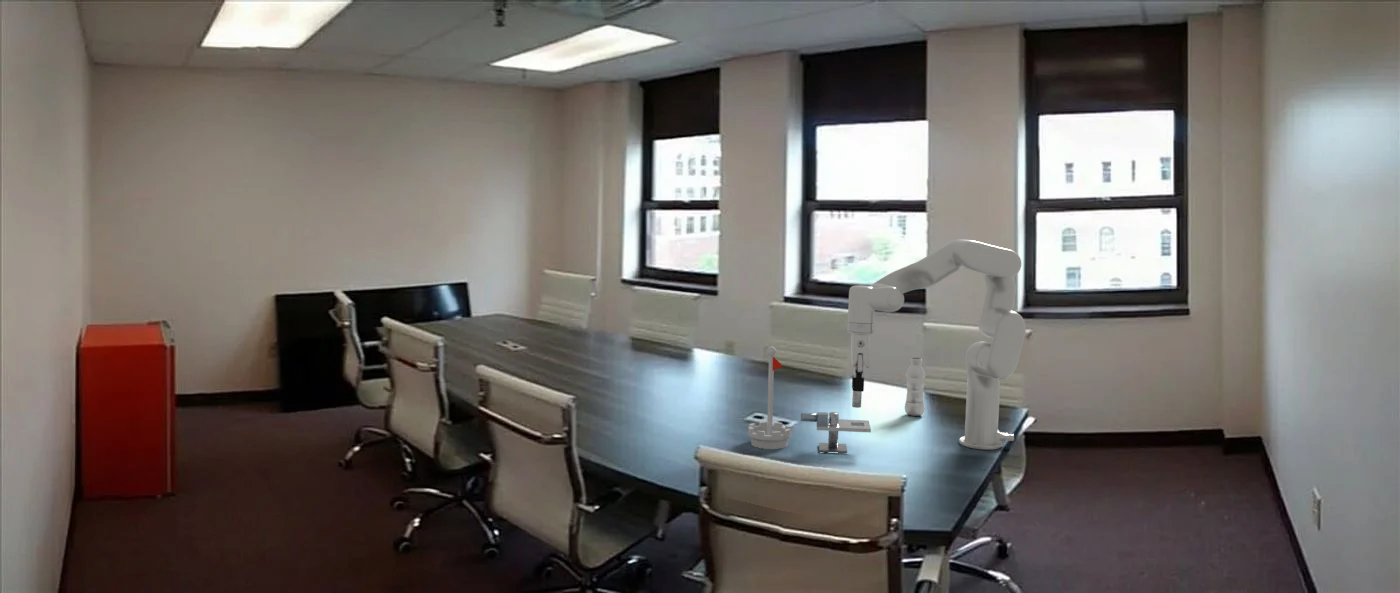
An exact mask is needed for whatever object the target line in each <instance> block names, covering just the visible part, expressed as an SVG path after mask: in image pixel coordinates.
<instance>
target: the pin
mask: <svg viewBox="0 0 1400 593" xmlns="http://www.w3.org/2000/svg"><path fill="white" fill-rule="evenodd" d="M856 367H858V365H856ZM862 367H863V365H862ZM856 370H857V369H856ZM852 375H853V374H852ZM853 377H854V375H853ZM862 396H863V393H862V392H860V391H853V390H852V399H851V400H852V401H851V408H857V409H858V408H862Z"/></svg>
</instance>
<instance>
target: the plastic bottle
mask: <svg viewBox="0 0 1400 593" xmlns="http://www.w3.org/2000/svg"><path fill="white" fill-rule="evenodd" d="M909 364H910V365H909V367H908V368H907V369H906V371H905V380H906V388H907V389H906V399H905V404H904V412H905V414H907V415H909V416H913V417H919V416H922V415H924V414H925V409H926V408H925V402H924V388H925V379H926V371H925V369H924V368H923V366H922V364H923V358H922V357H910V362H909Z"/></svg>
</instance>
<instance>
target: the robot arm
mask: <svg viewBox="0 0 1400 593" xmlns="http://www.w3.org/2000/svg"><path fill="white" fill-rule="evenodd" d="M1021 268H1022V259H1021V257H1020V255H1019V254H1018V253H1017V252H1016V251H1014V250H1012V249H1008V248H1004V247H999V246H996V245H991V244H988V243H984V242H981V241H976V240H972V239H961V238H960V239H953V240H952V241H950V242H948V243H946V244H945V245H943V246H941V247H940V248H938V249H936V250H935V251H933V252H932V253H930V254H929V255H926V256H924V257H923V258H922V259H920V260H918V261H915V262H914V263H911V264H909V265H907V266H904V267H902V268H899V269H896V270H895V271H892V272H890V273H888V274H886V275H885V276H883V277H882V278H880V279H879V280H876V281H875V282H873V283H872V284H871V285H864V284H863V285H861V284H859V285H852V286H850V288H849V291H848V309H847V310H848V311H847V312H848V313H847V329H846V330H847V332H846V333H848V334H850V335H851V336H850V338H851V339H850V362H851V363H850V364H851V366H852V370H853V371H852V379H851V388H852V392H853V391H860V392H864V390H865V376H864V375H865V374H864V373H865V367H866V369H869V368H870V356H871V355H870V352H871V351H870V350H871V336H870V335H873V334H874V328H875V327H874V324H875V311H879V312H887V313H894V312H897V311H899V310H900V309H901V308H902V307H903V305H904V304H905V296H904V294H905V293H908V292H911V291H915V290H921V289H928V288H931V287H934V286H936V285H938V284H939V283H941V282H943V281H945V279H948V278H950V277H951V276H953V275H955V274H956V273H957V272H960V271H961V270H963V269H964V270H969V271H974V272H977V273H980V274H981V275H982V276H983V278H984V279H983V280H984V281H985V286H986V288H985V296H984V298H983V303H982V308H981V312H980V316H979V318H978V319H979V320H978V323H977V324H978V330H979V332H980V333H981V334H982V335H983V336H985V337H986V338H990V339H991V342H989V341H983V340H981V341H975V342H974V343H972V344H970V346H968V348H967V350H966V353H965V361H964V362H965V369H966V377H967V378H966V379H967V380H966V382H967V383H966V398H965V399H966V403H965V423H964V436H961V437H960V438H959V440H958V442H959V444H960V445H961V446H964V447H967V448H970V449H976V450H997V449H1000V448H1002V447H1003V441H1008V442H1009V441H1010V442H1014V441H1015V435H1014V433H1013V434H1009V433H1008V432H1001V431H1000V430H999V415H1000V412H999V411H1000V396H1001V394H1000V392H1001V384H1000V380H1005V379H1008V378H1009V377H1011V376H1012V375H1013V373H1014V372H1015V371H1016V369H1017V366H1018V363H1019V360H1020V356H1021V352H1022V348H1023V345H1024V341H1025V336H1026V330H1027V328H1026V321H1025V320H1024V317H1023V316H1022V315H1021V314H1020V313H1018V312H1016V311H1014V305H1015V301H1016V300H1015V299H1016V295H1017V293H1016V292H1017V285H1016V281H1015V279H1014V278H1015V276H1016V275H1018V274H1019V272H1020V271H1021ZM856 365H858V367H856ZM862 365H863V367H862ZM856 369H857V370H856ZM853 375H854V377H853Z"/></svg>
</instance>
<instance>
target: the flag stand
mask: <svg viewBox="0 0 1400 593" xmlns="http://www.w3.org/2000/svg"><path fill="white" fill-rule="evenodd" d="M766 354H767V355H768V376H767V377H768V379H767V381H768V382H767V384H768V385H767V420H766V421H759V422H758V425H756V423H755V422H754V423H753V422H752V423H749V424H748V428H747V435H748V436H749V437H750V438H751V439H750V440H751V442H750V443H751V444H750V445H751V446H752V447H755V448H757V447H758V449H762V448H763V449H764V450H777V449H779V448H780V449H784V448H786V447H788V443H789V442H788V440H789V439H790V438H791V437H792V426H791V425H789V424H785V425H784V426H783V422H778V421H774V422H773V419H774V418H773V417H774V416H773V409H774V408H773V407H774V373H775V372H774V371H776V370H777V369H779V368H781V367H783V366H784V365H783V364H782V363H781V362H780V361H779V360H778V359H776V358H775V355H776V354H777V349H776V347H774V346H768V347H767V348H766Z"/></svg>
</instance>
